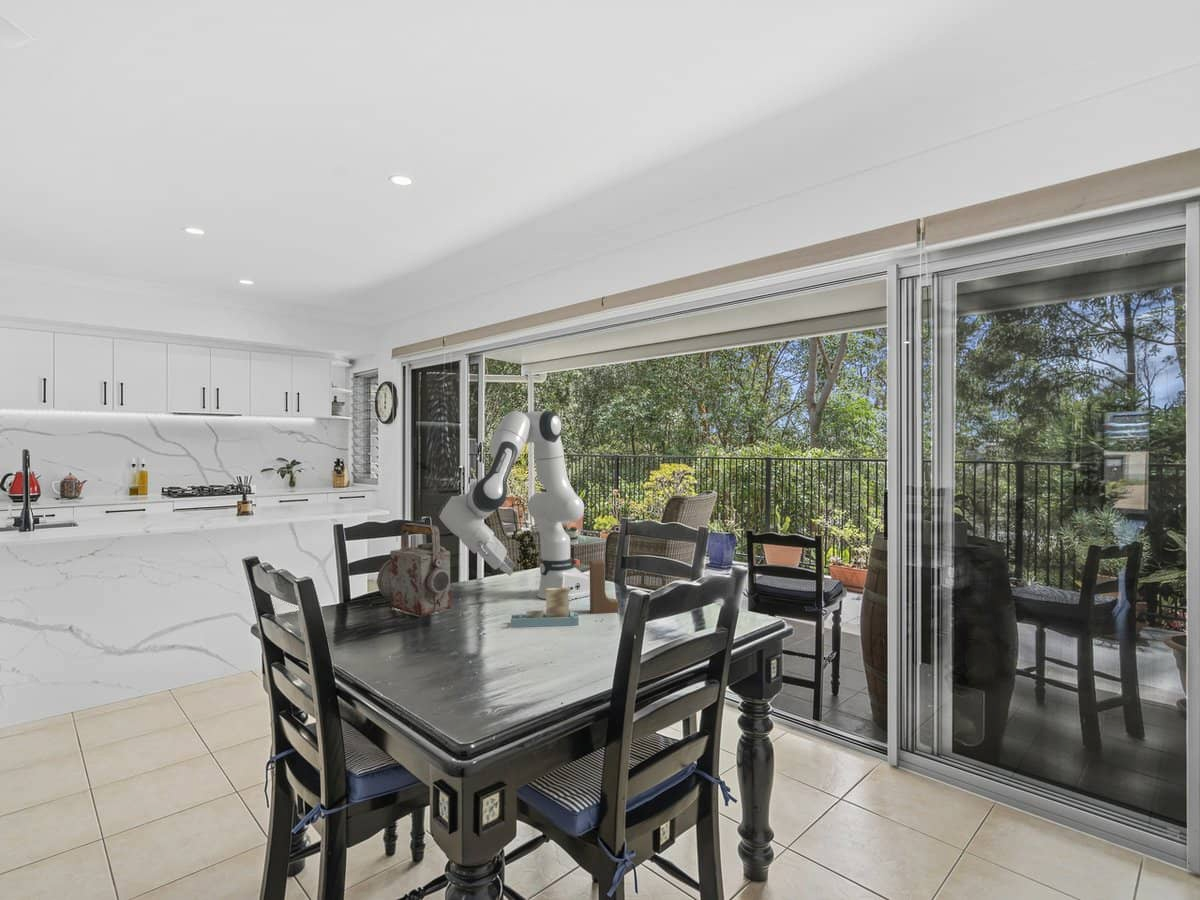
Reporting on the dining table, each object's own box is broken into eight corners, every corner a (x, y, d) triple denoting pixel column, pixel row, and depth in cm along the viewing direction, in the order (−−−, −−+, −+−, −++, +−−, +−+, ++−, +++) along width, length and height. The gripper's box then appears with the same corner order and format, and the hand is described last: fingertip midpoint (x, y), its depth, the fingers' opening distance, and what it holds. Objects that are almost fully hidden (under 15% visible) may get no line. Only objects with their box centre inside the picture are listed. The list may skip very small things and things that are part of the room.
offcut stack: (524, 625, 198) (523, 612, 198) (524, 623, 201) (524, 611, 201) (543, 625, 199) (543, 612, 199) (543, 623, 201) (543, 610, 201)
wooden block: (615, 611, 217) (615, 559, 217) (618, 615, 213) (618, 561, 213) (589, 613, 216) (589, 560, 216) (592, 617, 211) (591, 562, 211)
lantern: (413, 599, 237) (412, 519, 237) (459, 611, 220) (458, 524, 220) (374, 608, 225) (373, 523, 225) (420, 621, 208) (419, 529, 207)
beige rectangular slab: (546, 625, 199) (546, 590, 199) (546, 622, 201) (546, 588, 201) (568, 624, 199) (568, 589, 199) (568, 622, 202) (568, 587, 202)
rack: (508, 632, 195) (508, 619, 195) (510, 624, 204) (510, 611, 204) (580, 630, 196) (580, 617, 196) (579, 622, 205) (579, 609, 205)
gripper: (484, 537, 188) (518, 569, 189) (491, 528, 208) (521, 557, 209) (469, 552, 188) (502, 585, 189) (477, 542, 208) (507, 571, 209)
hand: (512, 570), depth 199 cm, fingers open, 8 cm apart
